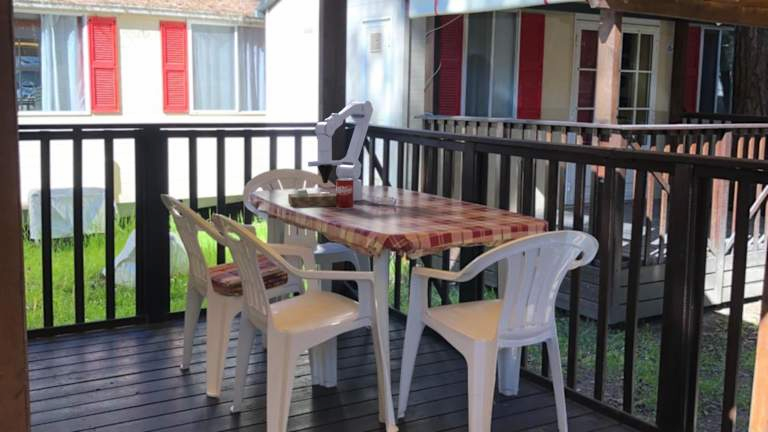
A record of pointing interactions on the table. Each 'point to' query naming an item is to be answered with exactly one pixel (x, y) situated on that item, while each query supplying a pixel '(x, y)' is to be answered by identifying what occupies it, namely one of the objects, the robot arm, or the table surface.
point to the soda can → (345, 193)
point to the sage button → (301, 192)
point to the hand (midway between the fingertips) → (325, 183)
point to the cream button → (324, 193)
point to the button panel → (312, 200)
